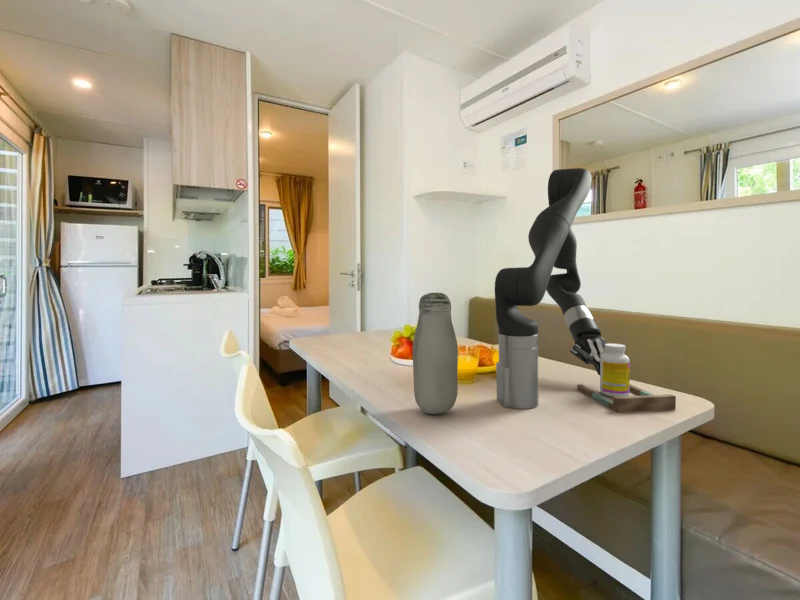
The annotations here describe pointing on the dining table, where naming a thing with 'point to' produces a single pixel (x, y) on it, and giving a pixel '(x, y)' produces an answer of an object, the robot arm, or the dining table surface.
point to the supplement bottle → (614, 371)
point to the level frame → (634, 400)
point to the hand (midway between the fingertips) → (605, 375)
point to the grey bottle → (435, 355)
